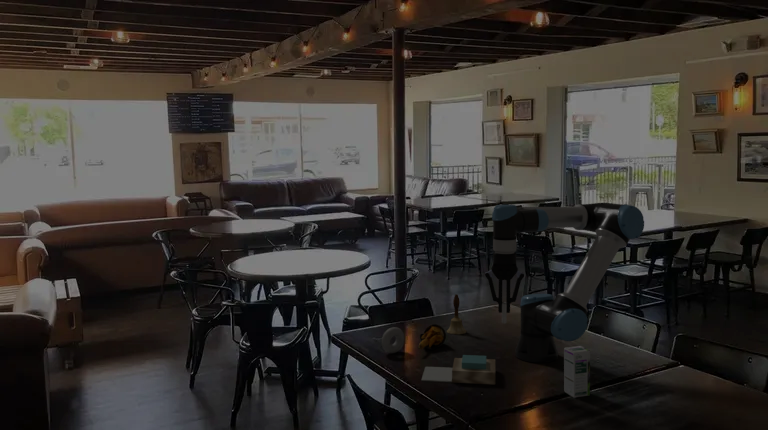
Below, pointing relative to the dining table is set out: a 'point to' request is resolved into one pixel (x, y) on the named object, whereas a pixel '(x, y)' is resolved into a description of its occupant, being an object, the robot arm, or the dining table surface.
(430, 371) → the mat
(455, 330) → the hand bell
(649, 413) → the dining table surface
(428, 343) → the fried shrimp in bowl
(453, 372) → the serving board
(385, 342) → the donut
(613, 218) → the robot arm
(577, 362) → the syrup box
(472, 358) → the teal block
